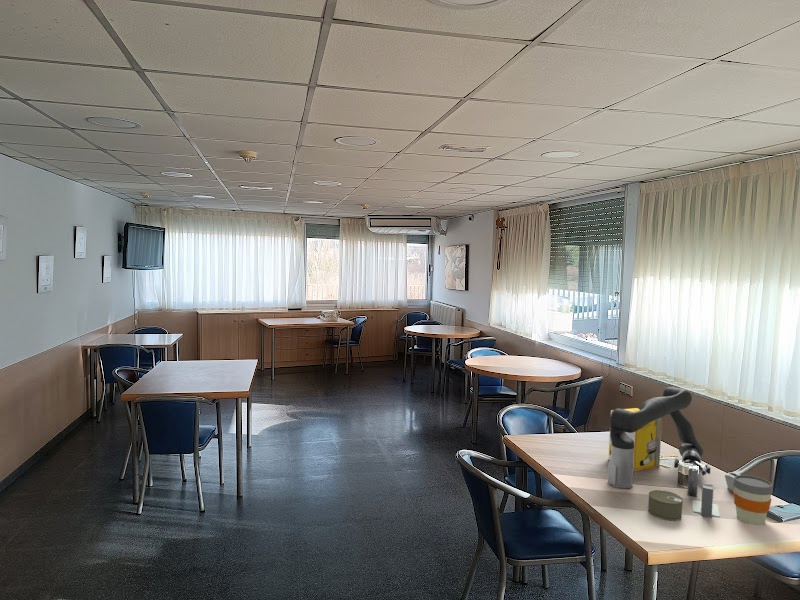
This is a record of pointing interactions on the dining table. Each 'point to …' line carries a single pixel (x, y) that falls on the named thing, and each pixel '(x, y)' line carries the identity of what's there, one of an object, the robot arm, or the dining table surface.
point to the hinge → (730, 480)
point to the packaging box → (645, 444)
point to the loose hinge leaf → (692, 481)
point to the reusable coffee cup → (752, 498)
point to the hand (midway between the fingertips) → (692, 471)
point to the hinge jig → (706, 502)
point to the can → (665, 505)
